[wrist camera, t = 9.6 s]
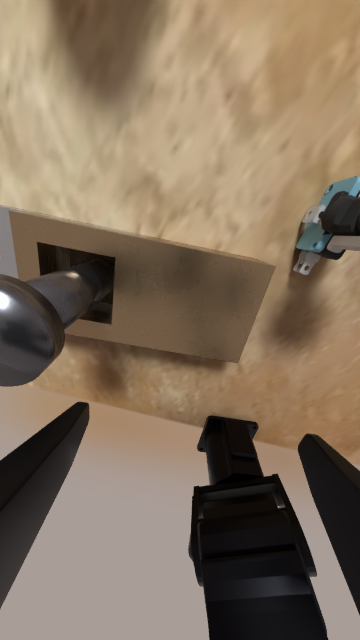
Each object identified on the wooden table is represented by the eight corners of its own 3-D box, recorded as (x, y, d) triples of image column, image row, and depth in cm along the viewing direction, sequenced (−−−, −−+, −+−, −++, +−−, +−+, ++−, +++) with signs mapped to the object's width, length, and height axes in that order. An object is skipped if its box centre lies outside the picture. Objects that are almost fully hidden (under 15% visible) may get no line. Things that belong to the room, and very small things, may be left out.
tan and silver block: (227, 339, 20) (238, 363, 16) (-44, 290, 18) (-102, 305, 14) (255, 258, 17) (275, 266, 13) (-73, 189, 15) (-157, 175, 11)
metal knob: (123, 303, 18) (51, 393, 8) (76, 295, 18) (-61, 377, 8) (127, 255, 17) (41, 294, 6) (75, 245, 16) (-105, 268, 6)
